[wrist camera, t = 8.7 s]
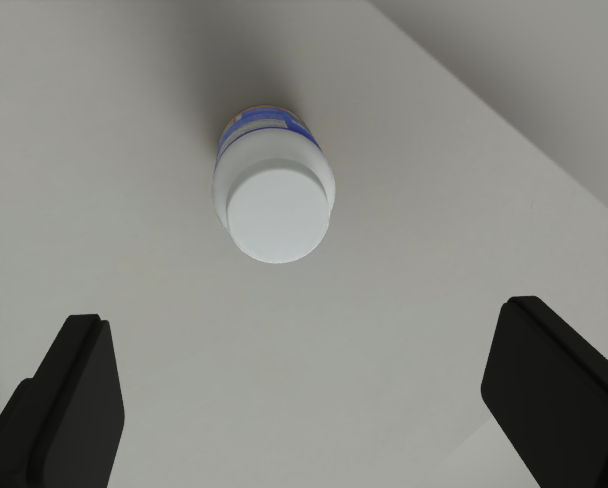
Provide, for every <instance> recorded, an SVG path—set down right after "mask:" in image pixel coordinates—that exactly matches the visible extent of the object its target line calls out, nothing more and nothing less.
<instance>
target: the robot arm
mask: <svg viewBox="0 0 608 488" xmlns="http://www.w3.org/2000/svg"><path fill="white" fill-rule="evenodd" d="M481 395H482V398H483V401H484V402H485V404H486V405H487V407H488V408H489V410H490V412H491V413H492V415H493V416H494V418H495V419H496V421H497V422H498V424H499V425H500V427H501V428H502V430H503V431H504V433H505V434H506V436H507V437H508V439H509V440H510V442H511V443H512V445H513V446H514V448H515V449H516V451H517V452H518V454H519V456H520V457H521V459H522V460H523V461H524V463H525V464H526V466H527V468H528V469H529V471H530V472H531V474H532V475H533V477H534V478H535V480H536V481H537V483H538V484H539V486H540V487H541V488H608V360H607V359H606V358H605V357H603V355H601V354H600V353H599V352H598V351H597V350H596V349H595V348H594V347H593V346H591V345H590V344H589V343H588V342H587V341H586V340H585V339H584V338H583V337H582V336H581V335H579V334H578V333H577V332H576V331H575V330H574V329H573V328H572V327H571V326H569V325H568V324H567V323H566V322H565V321H564V320H563V319H562V318H561V317H559V316H558V315H557V314H556V313H555V312H554V311H553V310H552V309H551V308H549V307H548V306H547V305H546V304H545V303H544V302H543V301H542V300H541V299H540V298H538V297H536V296H517V297H511V298H510V299H509V300H508V301H507V303H504V304H503V305H502V307H501V310H500V314H499V318H498V322H497V326H496V330H495V334H494V337H493V341H492V345H491V349H490V353H489V357H488V361H487V364H486V368H485V372H484V376H483V380H482V384H481ZM124 418H125V414H124V406H123V400H122V394H121V389H120V383H119V377H118V371H117V365H116V359H115V353H114V348H113V342H112V336H111V330H110V325H109V322H108V321H107V320H101V319H100V317H99V315H98V314H85V315H70V316H69V317H68V318H67V319H66V321H65V323H64V324H63V326H62V328H61V330H60V331H59V333H58V335H57V337H56V338H55V340H54V342H53V344H52V345H51V347H50V349H49V351H48V352H47V354H46V356H45V358H44V359H43V361H42V363H41V365H40V366H39V368H38V370H37V372H36V373H35V375H34V377H33V378H26V379H24V380H23V381H21V383H20V384H19V385H18V386H17V388H16V390H15V391H14V393H13V395H12V396H11V398H10V400H9V401H8V403H7V405H6V406H5V408H4V410H3V411H2V413H1V415H0V488H107V485H108V481H109V478H110V474H111V470H112V467H113V463H114V460H115V456H116V452H117V449H118V445H119V442H120V438H121V434H122V431H123V427H124Z"/></svg>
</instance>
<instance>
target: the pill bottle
mask: <svg viewBox="0 0 608 488" xmlns="http://www.w3.org/2000/svg"><path fill="white" fill-rule="evenodd" d="M212 198H213V204H214V207H215V211H216V213H217V215H218V217H219V219H220V221H221V222H222V224H223V225H224V227H225V228H226V229H227V230H228V231H229V233H230V235H231V237H232V239H233V241H234V242H235V244H236V245H237V246H238V247H239V248H240V249H241V250H242V251H243V252H244V253H246V254H247V255H249V256H250V257H252V258H254V259H257V260H259V261H262V262H266V263H286V262H291V261H294V260H297V259H300V258H302V257H303V256H305V255H307V254H308V253H310V252H311V251H312V250H313V249H314V248H315V247H316V246H317V245H318V244H319V243H320V242H321V240H322V239H323V237H324V235H325V233H326V231H327V228H328V225H329V219H330V213H331V210H332V208H333V204H334V199H335V179H334V175H333V172H332V169H331V166H330V164H329V162H328V160H327V159H326V157H325V155H324V154H323V152H322V151H321V149H320V147H319V146H318V144H317V142H316V141H315V139H314V138H313V136H312V134H311V133H310V131H309V130H308V128H307V127H306V125H305V124H304V123H303V122H302V121H301V120H300V119H299V118H298V117H297V116H295V115H294V114H293V113H291V112H290V111H288V110H285V109H283V108H280V107H275V106H256V107H252V108H249V109H246V110H244V111H242V112H241V113H239V114H237V115H236V116H235V117H234V118H233V119H232V120H230V122H229V123H228V124H227V126H226V127H225V129H224V131H223V133H222V135H221V138H220V142H219V147H218V154H217V159H216V165H215V170H214V175H213V183H212Z"/></svg>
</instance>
